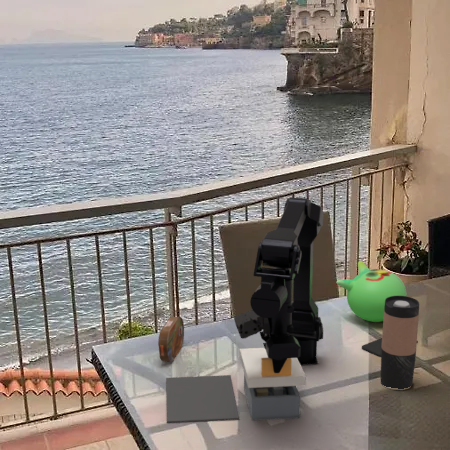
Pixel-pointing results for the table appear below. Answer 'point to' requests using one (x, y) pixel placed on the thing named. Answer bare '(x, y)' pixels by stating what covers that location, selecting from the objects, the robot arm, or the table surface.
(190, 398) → the mat
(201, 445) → the table surface
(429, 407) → the table surface
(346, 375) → the table surface
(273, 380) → the lid
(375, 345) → the phone
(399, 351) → the travel mug
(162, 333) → the tin
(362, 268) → the toy bird
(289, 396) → the parts tub
